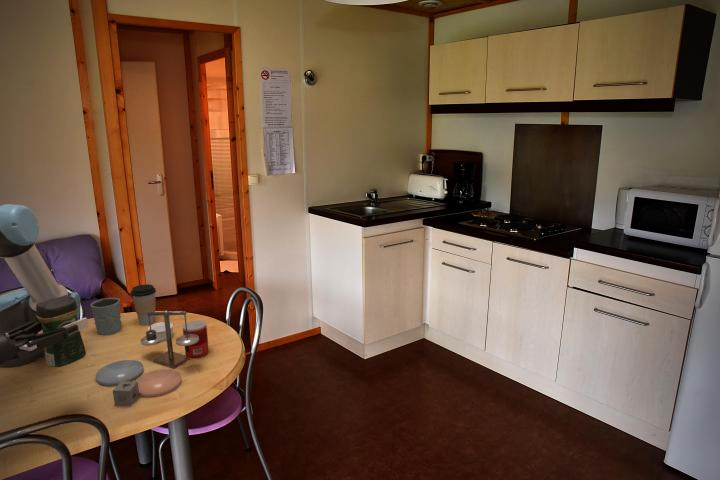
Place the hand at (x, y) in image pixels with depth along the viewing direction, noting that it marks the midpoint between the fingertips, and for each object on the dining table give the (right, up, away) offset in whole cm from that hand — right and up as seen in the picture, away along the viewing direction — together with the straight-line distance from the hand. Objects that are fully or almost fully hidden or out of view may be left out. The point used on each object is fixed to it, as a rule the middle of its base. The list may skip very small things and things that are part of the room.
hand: (76, 319), depth 140 cm
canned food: (+23, -18, +34) cm, 45 cm away
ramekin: (+5, -15, +47) cm, 50 cm away
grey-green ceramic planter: (-18, -13, +53) cm, 57 cm away
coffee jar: (-2, -11, -1) cm, 12 cm away
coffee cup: (-6, -11, +60) cm, 61 cm away
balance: (+16, -19, +29) cm, 38 cm away
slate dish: (+3, -21, +20) cm, 30 cm away
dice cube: (+12, -25, +6) cm, 29 cm away
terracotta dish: (+17, -23, +14) cm, 32 cm away
